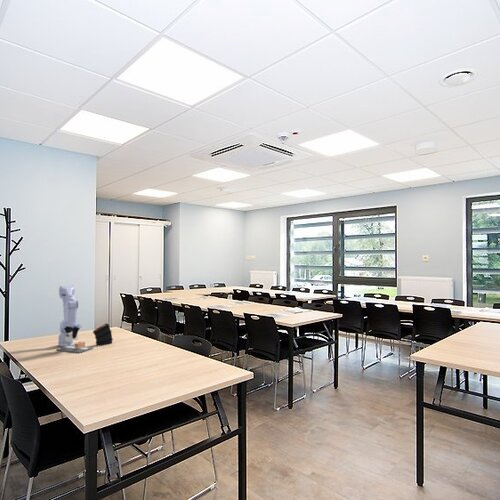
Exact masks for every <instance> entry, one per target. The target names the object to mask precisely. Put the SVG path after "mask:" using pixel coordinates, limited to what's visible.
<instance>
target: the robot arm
mask: <svg viewBox="0 0 500 500" xmlns="http://www.w3.org/2000/svg"><path fill="white" fill-rule="evenodd" d="M58 295H59V298H60V299H61V300H62V308H63V320H62V321H61V322H60V324H59V332H60V334H59V335H58V343H57V346H58V347H61V345H65V344H70V346H75V343H74V340H71V341H70V342H69V341H65V334H67V333H71V332H72V333H73V338H76V336H77V333H78V334H79V331H80V329H81V328H82V324H78V322H77V321H78V308H79V301H78V300H77V299H76V296H75V286H74V285H59V288H58Z"/></svg>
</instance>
